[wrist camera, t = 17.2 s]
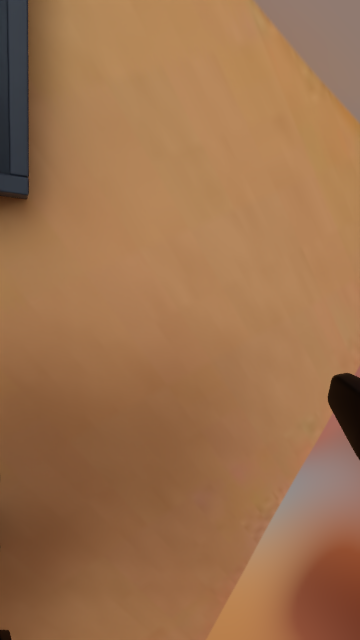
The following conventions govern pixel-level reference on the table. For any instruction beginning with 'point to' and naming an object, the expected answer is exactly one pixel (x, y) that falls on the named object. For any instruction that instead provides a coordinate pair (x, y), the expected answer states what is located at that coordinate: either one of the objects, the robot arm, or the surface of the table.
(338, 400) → the robot arm
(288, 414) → the table surface
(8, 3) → the tray
